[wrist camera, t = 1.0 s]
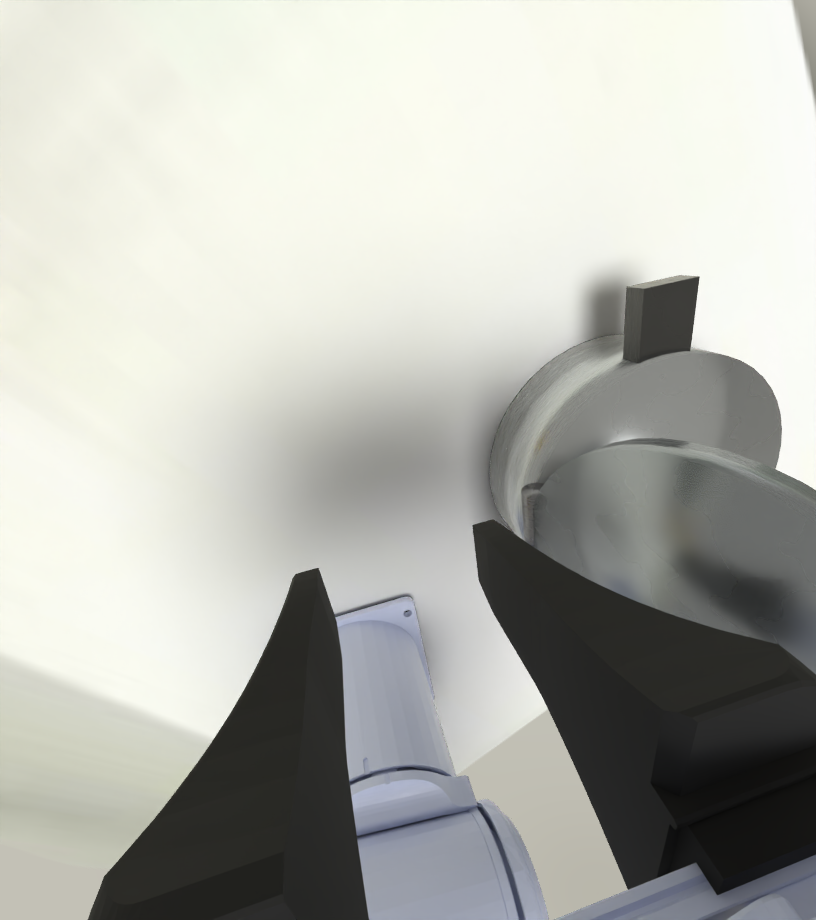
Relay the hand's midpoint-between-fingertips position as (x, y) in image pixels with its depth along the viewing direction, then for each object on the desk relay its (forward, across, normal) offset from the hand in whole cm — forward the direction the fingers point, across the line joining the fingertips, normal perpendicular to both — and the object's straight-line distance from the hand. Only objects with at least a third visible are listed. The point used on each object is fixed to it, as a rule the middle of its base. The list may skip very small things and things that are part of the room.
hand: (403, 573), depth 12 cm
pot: (+10, -13, +5) cm, 17 cm away
